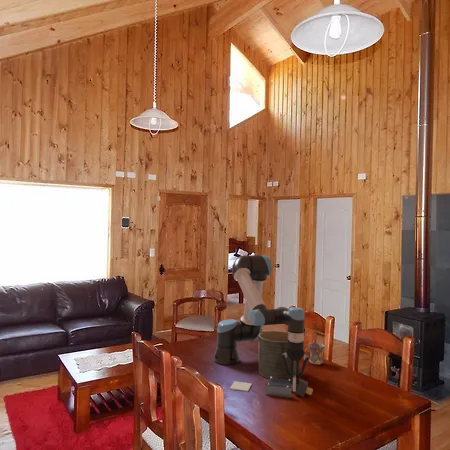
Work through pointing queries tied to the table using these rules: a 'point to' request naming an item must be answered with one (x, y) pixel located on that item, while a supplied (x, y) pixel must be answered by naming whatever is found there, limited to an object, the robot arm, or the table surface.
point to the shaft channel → (279, 387)
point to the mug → (315, 353)
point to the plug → (303, 388)
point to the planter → (274, 355)
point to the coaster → (241, 386)
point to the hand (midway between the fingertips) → (294, 390)
